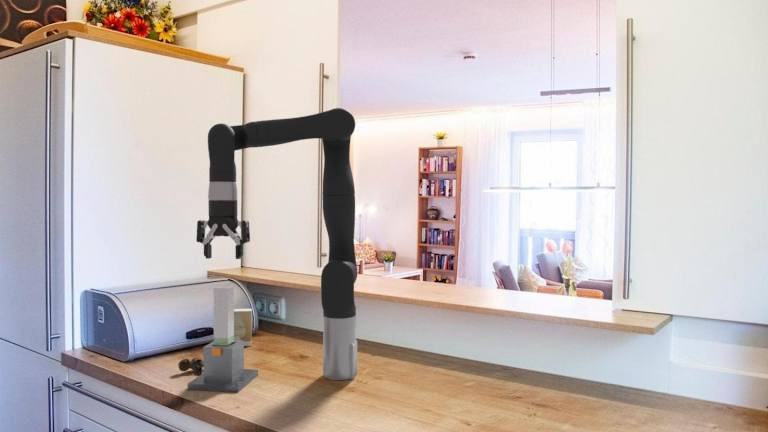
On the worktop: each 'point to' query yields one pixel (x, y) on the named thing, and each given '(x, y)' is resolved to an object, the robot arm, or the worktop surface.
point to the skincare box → (243, 325)
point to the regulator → (191, 365)
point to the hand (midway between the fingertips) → (223, 258)
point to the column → (224, 316)
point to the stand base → (223, 369)
